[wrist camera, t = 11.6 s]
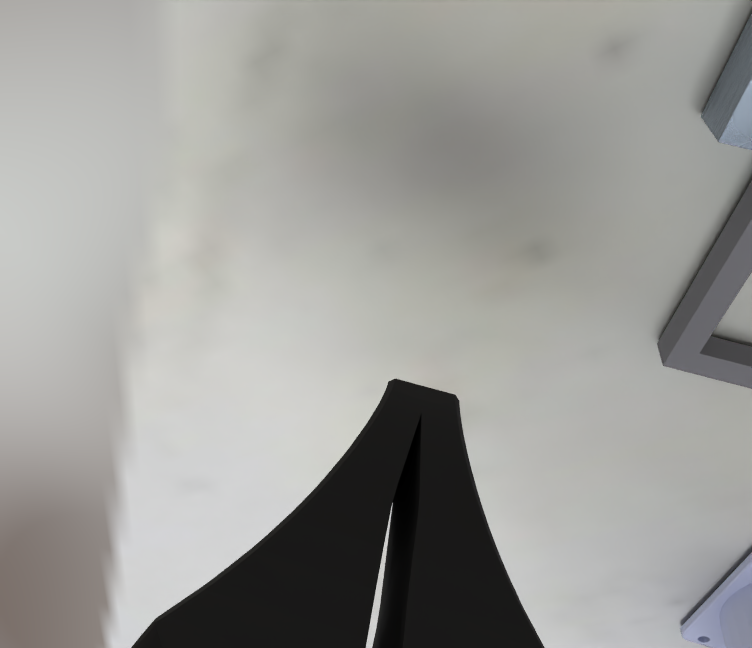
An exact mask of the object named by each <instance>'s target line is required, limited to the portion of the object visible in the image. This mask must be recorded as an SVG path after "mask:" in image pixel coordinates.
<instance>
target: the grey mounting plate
mask: <svg viewBox="0 0 752 648" xmlns="http://www.w3.org/2000/svg"><path fill="white" fill-rule="evenodd" d="M751 272H752V181H751V182H750V184H749V186H748V188H747V189H746V191H745V193H744V194H743V196H742V198H741V200H740V201H739V203H738V205H737V207H736V208H735V210H734V212H733V213H732V215H731V217H730V219H729V220H728V222H727V224H726V226H725V227H724V229H723V231H722V232H721V234H720V236H719V238H718V239H717V241H716V243H715V244H714V246H713V248H712V250H711V251H710V253H709V255H708V257H707V258H706V260H705V262H704V263H703V265H702V267H701V269H700V270H699V272H698V274H697V276H696V277H695V279H694V281H693V282H692V284H691V286H690V288H689V289H688V291H687V293H686V294H685V296H684V298H683V300H682V301H681V303H680V305H679V307H678V308H677V310H676V312H675V313H674V315H673V317H672V319H671V320H670V322H669V324H668V325H667V327H666V329H665V331H664V332H663V334H662V336H661V338H660V339H659V341H658V343H657V345H658V349H659V353H660V356H661V360H662V364H663V366H666V367H670V368H674V369H678V370H682V371H685V372H689V373H693V374H697V375H701V376H705V377H709V378H713V379H716V380H720V381H724V382H728V383H732V384H736V385H740V386H743V387H747V388H751V389H752V347H751V346H747V345H743V344H739V343H735V342H731V341H727V340H723V339H720V338H716V337H712V336H711V334H712V333H713V331H714V330H715V328H716V327H717V325H718V324H719V322H720V320H721V319H722V317H723V316H724V314H725V313H726V311H727V310H728V308H729V306H730V305H731V303H732V302H733V300H734V299H735V297H736V295H737V294H738V292H739V291H740V289H741V288H742V286H743V285H744V283H745V281H746V280H747V278H748V277H749V275H750V274H751Z"/></svg>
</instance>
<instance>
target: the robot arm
mask: <svg viewBox="0 0 752 648" xmlns="http://www.w3.org/2000/svg"><path fill="white" fill-rule="evenodd" d="M392 503H393V506H392ZM391 506H392V514H391V522H390V530H389V538H388V546H387V555H386V563H385V571H384V579H383V587H382V596H381V604H380V610H379V616H378V622H377V628H376V633H375V638H374V642H373V647H372V648H544V646H543V644H542V642H541V640H540V638H539V636H538V635H537V633H536V631H535V629H534V627H533V625H532V623H531V621H530V620H529V618H528V616H527V614H526V612H525V610H524V608H523V606H522V604H521V602H520V600H519V598H518V596H517V593H516V591H515V589H514V587H513V585H512V583H511V581H510V578H509V576H508V574H507V571H506V569H505V567H504V564H503V562H502V560H501V557H500V555H499V552H498V550H497V547H496V545H495V542H494V539H493V537H492V534H491V531H490V529H489V526H488V523H487V520H486V517H485V514H484V511H483V508H482V505H481V502H480V498H479V495H478V492H477V488H476V485H475V481H474V477H473V474H472V470H471V466H470V462H469V458H468V454H467V449H466V445H465V440H464V435H463V429H462V423H461V416H460V407H459V400H458V398H457V397H456V395H454V394H450V393H447V392H443V391H439V390H435V389H432V388H428V387H424V386H421V385H417V384H413V383H410V382H406V381H402V380H398V379H394V380H391V381H389V382H388V385H387V388H386V391H385V393H384V395H383V397H382V399H381V401H380V403H379V405H378V406H377V408H376V410H375V411H374V413H373V415H372V416H371V418H370V419H369V421H368V423H367V424H366V426H365V427H364V428H363V430H362V431H361V432H360V434H359V435H358V437H357V438H356V439H355V441H354V442H353V444H352V445H351V446H350V448H349V449H348V450H347V452H346V453H345V454H344V455H343V457H342V458H341V459H340V460H339V461H338V462H337V464H336V465H335V466H334V467H333V468H332V470H331V471H330V472H329V473H328V474H327V476H326V477H325V478H324V479H323V480H322V481H321V482H320V484H319V485H318V486H317V487H316V488H315V489H314V490H313V491H312V492H311V493H310V494H309V495H308V496H307V497H306V499H305V500H304V501H303V502H302V503H301V504H300V505H299V506H298V507H297V508H296V509H295V510H294V511H293V512H292V513H291V514H289V515H288V516H287V517H286V518H285V519H284V520H283V521H282V522H281V523H280V524H279V525H278V526H276V527H275V528H274V529H273V530H272V531H271V532H270V533H269V534H268V535H267V536H266V537H264V538H263V539H262V540H261V541H260V542H259V543H257V544H256V545H255V546H254V547H253V548H252V549H250V550H249V551H248V552H247V553H245V554H244V555H243V556H241V557H240V558H239V559H238V560H236V561H235V562H234V563H233V564H231V565H230V566H229V567H228V568H226V569H225V570H224V571H222V572H221V573H220V574H219V575H217V576H216V577H215V578H213V579H212V580H211V581H209V582H208V583H207V584H205V585H204V586H203V587H201V588H200V589H198V590H197V591H195V592H194V593H192V594H191V595H189V596H188V597H186V598H185V599H183V600H182V601H181V602H179V603H178V604H176V605H175V606H173V607H172V608H170V609H169V610H167V611H166V612H164V613H163V614H161V615H160V616H159V617H157V618H156V619H155V620H154V621H153V622H152V623H151V625H150V626H149V627H148V628H147V629H146V630H145V632H144V633H143V634H142V635H141V636H140V638H139V639H138V640H137V641H136V642H135V644H134V645H133V646H132V648H366V642H367V636H368V631H369V625H370V619H371V613H372V608H373V602H374V596H375V590H376V585H377V579H378V574H379V569H380V563H381V558H382V552H383V547H384V542H385V537H386V531H387V526H388V521H389V516H390V511H391ZM680 629H681V634H682V637H683V638H684V639H685V640H688V641H691V642H694V643H698V644H701V645H705V646H708V647H712V648H752V553H751V554H750V555H749V556H748V557H747V558H746V559H745V560H744V561H743V562H742V563H741V564H740V565H739V566H738V567H737V568H736V569H735V571H734V572H733V573H732V574H731V575H730V576H729V577H728V578H727V579H726V580H725V581H724V582H723V583H722V584H721V585H720V586H719V587H718V588H717V590H716V591H715V592H714V593H713V594H712V595H711V596H710V597H709V598H708V599H707V600H706V601H705V602H704V603H703V604H702V605H701V606H700V607H699V609H698V610H697V611H696V612H695V613H694V614H693V615H692V616H691V617H690V618H689V619H688V620H687V621H686V622H685V623H684V624H683V625H682V626H681V628H680Z"/></svg>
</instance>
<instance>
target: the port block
mask: <svg viewBox="0 0 752 648" xmlns="http://www.w3.org/2000/svg"><path fill="white" fill-rule="evenodd" d="M701 118H702V119H703V120H704V122H705V123H706V125H707V126H708V128H709V129H710V131H711V132H712V133H713V135H714V136H715V138H716V139H717V141H718V142H720V143H724V144H729V145H733V146H737V147H741V148H745V149H749V150H752V14H751V16H750V18H749V20H748V22H747V24H746V26H745V28H744V30H743V32H742V34H741V36H740V38H739V40H738V42H737V44H736V46H735V48H734V50H733V52H732V54H731V56H730V58H729V60H728V62H727V64H726V66H725V68H724V70H723V72H722V74H721V76H720V78H719V80H718V83H717V85H716V87H715V89H714V91H713V93H712V95H711V97H710V99H709V101H708V103H707V105H706V107H705V109H704V111H703V113H702V115H701Z"/></svg>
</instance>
